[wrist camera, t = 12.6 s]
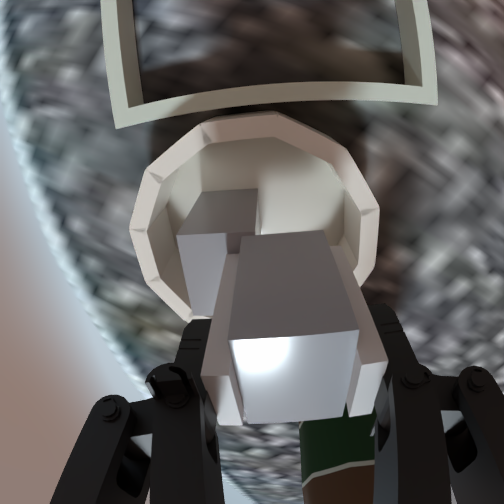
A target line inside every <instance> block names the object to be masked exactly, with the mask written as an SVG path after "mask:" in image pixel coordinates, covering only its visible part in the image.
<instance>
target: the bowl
mask: <svg viewBox="0 0 504 504" xmlns="http://www.w3.org/2000/svg"><path fill="white" fill-rule="evenodd" d="M254 188H258V194H259V210H260V226H261V235H263V234H275V233H287V232H300V231H313V230H323V231H324V234H325V236H326V239H327V241H328V244H329V246H340V245H341V247H342V249H343V251H344V253H345V255H346V258H347V260H348V262H349V264H350V266H351V269H352V271H353V273H354V276H355V278H356V280H357V282H358V285H359V287H361V286H362V284H363V283H364V281H365V280H366V279H367V277H368V276H369V274H370V273H371V272H372V270H373V269H374V266H375V260H376V250H377V240H378V227H379V212H380V208H379V205H378V203H377V201H376V199H375V198H374V196H373V194H372V192H371V190H370V188H369V187H368V185H367V183H366V181H365V179H364V178H363V176H362V174H361V172H360V171H359V169H358V167H357V165H356V164H355V162H354V160H353V159H352V157H351V155H350V154H349V152H348V150H347V149H346V148H345V147H343V146H342V145H340V144H339V143H338V142H336V141H335V140H333V139H332V138H330V137H329V136H328V135H326V134H324V133H322V132H320V131H318V130H316V129H314V128H312V127H310V126H308V125H306V124H304V123H302V122H300V121H298V120H296V119H293V118H291V117H289V116H287V115H285V114H283V113H280V112H278V111H276V110H275V111H274V110H267V111H256V112H246V113H237V114H229V115H222V116H215V117H213V118H211V119H209V120H206V121H204V122H202V123H200V124H198V125H197V126H196V127H195V128H193V129H192V130H191V131H190V132H188V133H187V134H186V135H185V136H183V137H182V138H181V139H180V140H179V141H177V142H176V143H175V144H174V145H173V146H171V147H170V148H169V149H168V150H167V151H165V152H164V153H163V154H162V155H161V156H160V157H159V158H157V159H156V160H155V161H154V162H153V163H152V164H151V165H150V166H148V167H147V168H146V170H145V172H144V175H143V179H142V182H141V185H140V189H139V192H138V196H137V200H136V203H135V207H134V211H133V215H132V219H131V223H130V227H129V228H130V229H129V231H130V234H131V238H132V241H133V244H134V248H135V251H136V254H137V257H138V261H139V264H140V267H141V270H142V273H143V276H144V279H145V282H147V283H146V284H147V285H148V286H149V287H150V288H151V289H152V290H153V291H154V292H155V293H156V294H157V295H158V296H159V297H160V298H161V299H162V300H163V301H164V302H165V303H167V304H168V305H169V306H170V307H171V308H172V309H173V310H174V311H175V312H176V313H177V314H178V315H179V316H180V317H181V318H182V319H183V320H184V321H186V322H188V323H190V322H191V320H192V319H212V317H213V316H193V312H192V308H191V304H190V299H189V295H188V290H187V286H186V281H185V277H184V272H183V267H182V263H181V258H180V253H179V248H178V243H177V238H176V235H177V233H178V231H179V229H180V228H181V226H182V224H183V222H184V221H185V219H186V217H187V216H188V214H189V212H190V211H191V209H192V207H193V205H194V204H195V202H196V200H197V199H198V197H199V195H200V194H201V192H206V191H220V190H236V189H254Z"/></svg>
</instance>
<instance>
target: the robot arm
mask: <svg viewBox="0 0 504 504" xmlns="http://www.w3.org/2000/svg"><path fill="white" fill-rule="evenodd" d="M330 249H331V251H332V254H333V257H334V259H335V262H336V265H337V267H338V270H339V273H340V275H341V278H342V281H343V284H344V286H345V289H346V292H347V295H348V298H349V300H350V303H351V306H352V309H353V312H354V315H355V318H356V321H357V324H358V327H359V336H358V342H357V347H356V352H355V358H354V363H353V369H352V374H351V379H350V384H349V388H348V393H347V398H346V403H347V409H348V414H349V417H353V416H360V415H366V414H371V413H372V410H373V407H374V405H375V409H376V413H377V418H376V420H375V423H374V425H373V427H372V430H371V434H370V436H373V435H374V433H375V470H374V496H373V504H451V487H452V490H453V492H454V495H455V498H456V501H457V504H504V395H503V393H502V391H501V390H500V388H499V386H498V385H497V383H496V381H495V380H494V378H493V376H492V375H491V374H490V373H489V372H488V371H487V370H486V369H484V368H482V367H478V366H470V367H467V368H465V369H464V370H462V372H461V373H460V375H459V377H451V376H438V375H434V374H432V372H431V371H430V370H429V369H428V368H427V367H426V366H423V365H421V364H419V363H418V361H417V359H416V356H415V354H414V352H413V350H412V348H411V345H410V343H409V341H408V339H407V337H406V334H405V332H403V328H402V326H401V324H400V323H399V320H398V318H397V316H396V314H395V312H394V311H393V310H392V309H391V308H390V307H389V306H387V305H386V304H385V303H384V304H376V305H368V306H367V304H366V301H365V299H364V297H363V294H362V292H361V289H360V287H359V285H358V282H357V280H356V278H355V276H354V273H353V271H352V269H351V266H350V264H349V262H348V260H347V258H346V255H345V253H344V251H343V249H342V247H341V245H340V246H330ZM238 259H239V253H238V254H226V258H225V263H224V267H223V272H222V276H221V280H220V285H219V290H218V294H217V299H216V303H215V308H214V313H213V317H212V319H192V320H191V322H190V323H189V324H188V325H187V326H186V327H185V328H184V331H183V335H182V338H181V341H180V345H179V350H178V352H177V355H176V358H175V362H174V363H167V364H163V365H160V366H158V367H156V368H155V369H153V370H152V371H151V372H150V373H149V374H148V376H147V378H146V381H145V384H146V386H147V387H148V389H149V391H150V393H151V394H152V396H153V398H150V399H147V400H142V401H137V402H131V403H129V402H128V401H127V400H126V399H125V398H124V397H122V396H119V395H108V396H105V397H103V398H101V399H100V400H99V401H97V402H96V404H95V405H94V406H93V408H92V410H91V412H90V414H89V416H88V418H87V420H86V422H85V424H84V426H83V428H82V430H81V433H80V435H79V437H78V439H77V441H76V443H75V446H74V448H73V450H72V452H71V455H70V457H69V459H68V461H67V464H66V466H65V468H64V471H63V473H62V475H61V477H60V480H59V482H58V484H57V487H56V489H55V492H54V494H53V497H52V499H51V502H50V504H145V501H146V498H147V494H148V491H149V488H150V504H225V501H224V493H223V484H222V474H221V465H220V455H219V444H218V436H217V433H216V431H215V427H216V420H218V423H219V425H243V412H244V406H243V402H242V398H241V394H240V391H239V387H238V383H237V379H236V375H235V370H234V366H233V362H232V358H231V354H230V350H229V346H228V341H227V339H228V331H229V324H230V317H231V309H232V302H233V295H234V288H235V280H236V273H237V266H238ZM450 484H451V486H450Z"/></svg>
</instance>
